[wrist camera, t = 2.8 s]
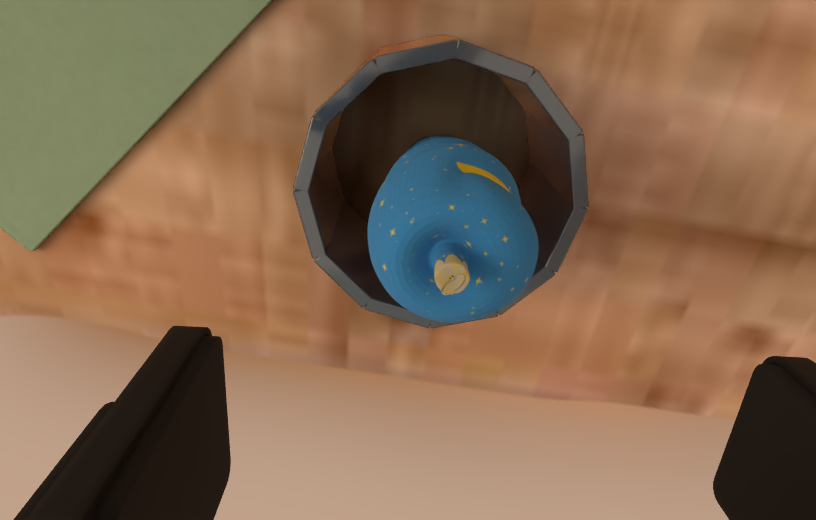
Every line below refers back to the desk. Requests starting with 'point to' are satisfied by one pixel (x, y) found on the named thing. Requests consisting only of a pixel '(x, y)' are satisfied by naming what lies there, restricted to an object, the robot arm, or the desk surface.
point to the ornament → (451, 232)
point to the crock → (539, 191)
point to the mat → (93, 91)
